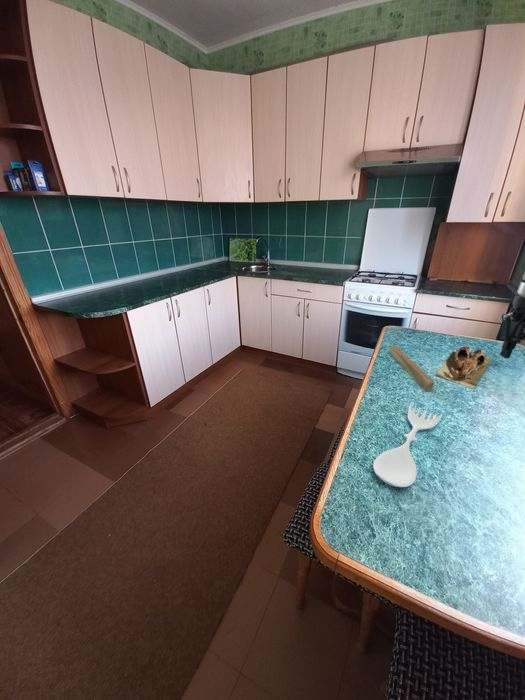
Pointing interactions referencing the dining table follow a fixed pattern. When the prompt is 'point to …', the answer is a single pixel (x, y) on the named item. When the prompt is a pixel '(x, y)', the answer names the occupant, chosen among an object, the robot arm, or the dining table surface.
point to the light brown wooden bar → (412, 368)
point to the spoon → (403, 453)
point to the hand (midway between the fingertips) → (504, 356)
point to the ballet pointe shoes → (465, 366)
